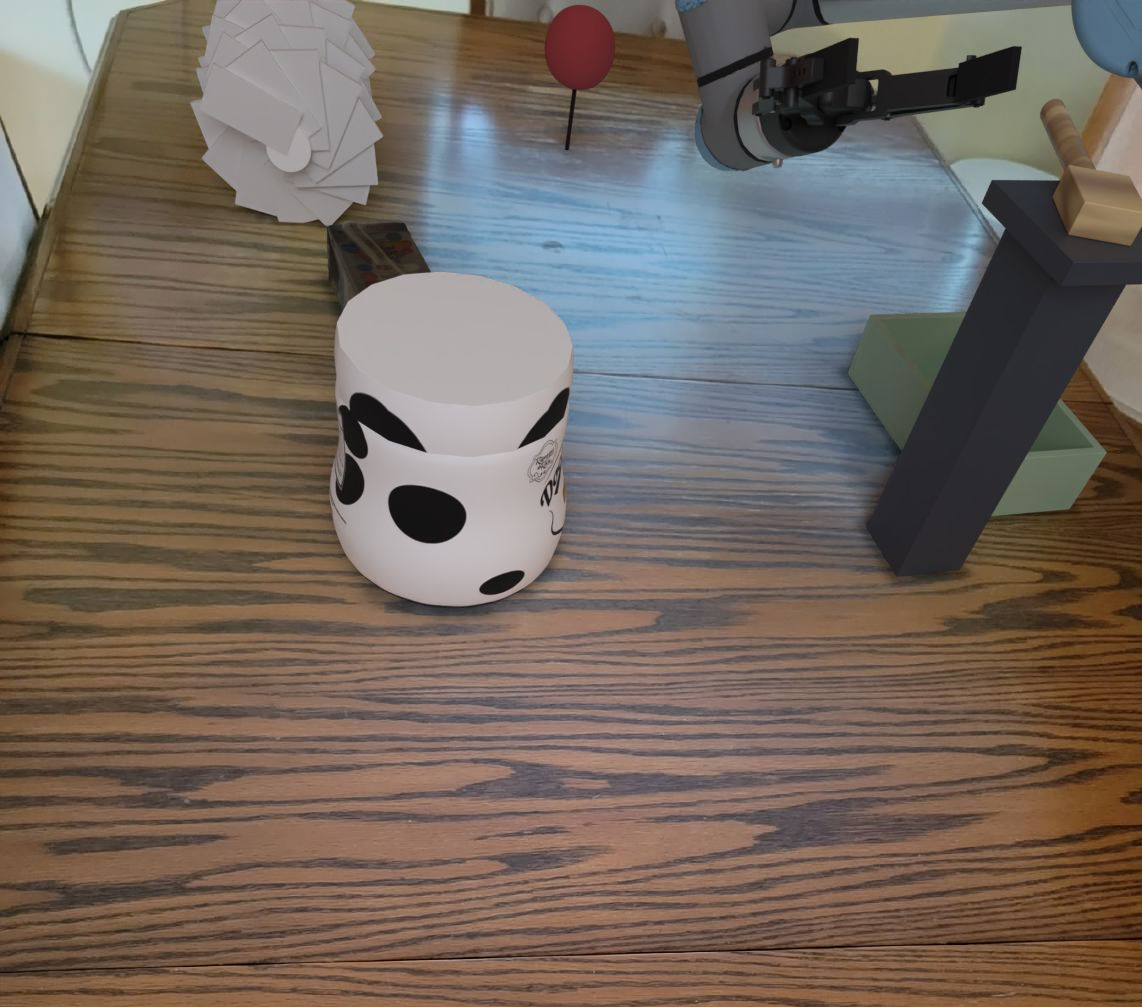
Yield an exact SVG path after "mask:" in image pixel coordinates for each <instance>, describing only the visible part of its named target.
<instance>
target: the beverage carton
mask: <svg viewBox="0 0 1142 1007" xmlns="http://www.w3.org/2000/svg"><path fill="white" fill-rule="evenodd" d="M326 249H327V270H328V282H329V283H330V285H331V289H332V290H333V293H334V294H335V297H336V300H337V301H338V303H339V306H340V309H341V313H342V312H343V310H344V308H345V306H346V304H347V302H348V301H349V300H351V299H352V298H354V297H355V296H356V295H358V294H359V293H361V292H362V291H363V290H365V289H366V288H368V287H369V286H370V285H372V284H376V283H379V282H382V281H385V280H388V279H391V278H395V277H398V276H401V275H406V274H418V273H430V272H432V271H431V269H430V268H429V265H428V263H427V262H426V260H425V258H424V256H423V254H422V253H421V251H420V249H419V248H418V245H417V244H416V242H415V240H414V239H413V238H412V233H411V232H410V230H409V229H408V226H407V225H406V223H405V222H399V221H397V222H396V221H395V222H394V221H392V222H378V223H377V222H375V223H369V222H368V223H367V222H366V223H359V221H355V220H347V221H344V222H343V223H340V224H332V225H329V226H326Z"/></svg>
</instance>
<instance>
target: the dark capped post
mask: <svg viewBox="0 0 1142 1007" xmlns="http://www.w3.org/2000/svg"><path fill="white" fill-rule="evenodd" d="M1060 181H1061V179H1060V180H1056V179H1055V180H1054V179H1053V180H1052V179H1051V180H1050V179H1049V180H1048V179H1042V180H1041V179H991V180H990V183H989V185H988V187H987V190H986V192H985V195H984V197H983V199H982V202H981V205H982V206H983V207H984V208H985V209H986V210H987V211H988V212H989V213H990V214H991V215H992V216H993V217H994V218H995V219H996V220H997V221H998V222H999V223H1000V224H1001V225H1002V227H1004V231H1003V232H1002V234H1001V237H1000V238H999V241H998V243H997V245H996V248H995V250H994V252H993V254H992V256H991V259H990V261H989V263H988V264H987V267H986V268H985V271H984V274H983V276H982V278H981V280H980V282H979V284H978V287H977V288H976V291H975V293H974V295H973V297H972V299H971V302H970V303H969V306H968V308H967V309H966V311H965V312H966V314H965V316H964V319H963V321H962V323H961V325H960V327H959V329H958V331H957V334H956V336H955V338H954V340H953V342H952V344H951V347H950V349H949V351H948V353H947V355H946V357H945V359H944V362H943V364H942V366H941V368H940V370H939V372H938V375H937V377H936V379H935V381H934V383H933V385H932V387H931V390H930V392H929V394H928V396H927V398H926V400H925V402H924V405H923V407H922V409H921V411H920V413H919V415H918V418H917V420H916V422H915V424H914V426H913V428H912V430H911V433H910V435H909V437H908V439H907V441H906V443H905V446H904V448H903V450H902V451H901V452H900V454H899V455H898V456H899V457H898V458H897V461H896V463H895V465H894V467H893V469H892V471H891V474H890V476H889V478H888V480H887V482H886V484H885V486H884V489H883V491H882V493H881V495H880V498H879V500H878V502H877V504H876V506H875V508H874V510H873V512H872V515H871V517H870V519H869V521H868V523H867V525H866V528H865V529H866V530H867V532H868V533H869V535H870V536H871V538H872V540H873V541H874V543H875V545H876V547H877V548H878V550H879V551H880V553H881V554H882V556H883V558H884V560H885V561H886V562H887V565H888V566H889V567H890V570H891V571H892V572H893V575H894V576H895V577H897V578H900V577H910V576H920V575H929V574H939V573H940V574H941V573H949V572H958V571H961V569H962V567H963V565H964V564H965V563H966V560H967V559H968V557H969V555H970V553H971V552H972V550H973V548H974V546H975V545H976V543H977V541H978V540H979V538H980V536H981V534H982V532H983V531H984V530H985V527H986V526H987V524H988V522H989V521H990V519H991V517H993V516H992V514H993V512H994V510H995V509H996V507H997V505H998V504H999V502H1000V500H1001V499H1002V497H1003V495H1004V493H1005V492H1006V490H1007V488H1008V487H1009V485H1010V483H1011V481H1012V480H1013V478H1014V476H1015V475H1016V473H1017V471H1018V469H1019V468H1020V466H1021V464H1022V463H1023V461H1024V459H1025V457H1026V456H1027V454H1028V452H1029V451H1030V449H1031V447H1032V445H1033V444H1034V442H1035V440H1036V439H1037V437H1038V435H1039V433H1040V432H1041V430H1042V428H1043V427H1044V425H1045V423H1046V421H1047V420H1048V418H1049V416H1050V415H1051V413H1052V411H1053V409H1054V408H1055V406H1056V404H1057V403H1058V401H1059V399H1061V398H1062V396H1063V394H1064V392H1065V391H1066V389H1067V388H1068V386H1069V384H1070V382H1071V380H1072V379H1073V378H1074V375H1075V373H1076V372H1077V370H1078V368H1079V367H1080V365H1081V363H1082V362H1083V360H1084V358H1085V356H1086V355H1087V354H1088V352H1089V349H1090V348H1091V346H1092V345H1093V343H1094V341H1095V340H1096V338H1097V336H1098V334H1099V332H1100V331H1101V329H1102V327H1103V325H1104V324H1105V323H1106V320H1107V319H1108V317H1109V316H1110V314H1111V312H1112V310H1113V308H1114V307H1115V305H1116V303H1117V301H1118V300H1119V298H1120V296H1121V295H1122V294H1123V291H1125V288H1126V286H1132V285H1133V286H1135V285H1136V286H1137V285H1138V286H1139V285H1142V227H1141V229H1140V231H1139V232H1138V234H1137V236H1136V238H1135V239H1134V241H1133V243H1132V245H1131V246H1127V245H1122V244H1116V243H1110V242H1105V241H1099V240H1094V239H1088V238H1083V237H1077V236H1071V235H1068V233H1067V231H1066V229H1065V226H1064V224H1063V221H1062V219H1061V217H1060V214H1059V212H1058V209H1057V207H1056V204H1055V202H1054V200H1053V195H1054V193H1055V191H1056V189H1057V187H1058V185H1059V183H1060Z"/></svg>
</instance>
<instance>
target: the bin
mask: <svg viewBox="0 0 1142 1007" xmlns="http://www.w3.org/2000/svg"><path fill="white" fill-rule="evenodd" d="M966 312H967V311H950V312H949V311H948V312H947V311H945V312H915V313H914V312H913V313H879V314H877V313H876V314H869V317H868V319H867V322H866V324H865V327H864V330H863V333H862V334H861V338H860V339H859V343H858V346H857V348H856V351H855V352H854V356H853V357H852V361H851V363H850V366H849V369H848V372H847V375H848V376H849V377H850V379H851V380H852V381H853V383H854V384H855V386H856V387H857V389H858V390H859V391H860V394H861V395H862V396H863V397H864V399H865V401H866V402H867V403H868V405H869V406H870V408H871V410H872V411H873V412H874V413H875V415H876V417H877V418H878V419H879V421H880V423H881V424H882V425H883V427H884V428H885V430H886V431H887V432H888V434H889V436H890V437H891V439H892V440H893V441H894V442H895V444H896V446H897V447H898V448H899V450H900V451H901V452H902V450H903V448H904V446H905V443H906V441H907V439H908V437H909V435H910V433H911V430H912V428H913V426H914V424H915V422H916V420H917V418H918V415H919V413H920V411H921V409H922V407H923V405H924V402H925V400H926V398H927V396H928V394H929V392H930V390H931V387H932V385H933V383H934V381H935V379H936V377H937V375H938V372H939V370H940V368H941V366H942V364H943V362H944V359H945V357H946V355H947V353H948V351H949V349H950V347H951V344H952V342H953V340H954V338H955V336H956V334H957V331H958V329H959V327H960V325H961V323H962V321H963V319H964V316H965V314H966ZM1106 455H1107V451H1106V450H1105V449H1104V447H1103V446H1102V445H1101V444H1100V442H1098V440H1097V439H1096V438H1095V437H1094V436H1093V434H1092V433H1091V432H1090V431H1089V430H1088V428H1086V426H1085V425H1084V424H1083V423H1082V421H1080V419H1079V418H1078V417H1077V416H1076V414H1074V413H1073V411H1072V410H1071V409H1070V408H1069V407H1068V405H1067V404H1066V403H1065V402H1064V401H1063V400H1062V399H1061V398H1060V399H1059V401H1058V403H1057V404H1056V406H1055V408H1054V409H1053V411H1052V413H1051V415H1050V416H1049V418H1048V420H1047V421H1046V423H1045V425H1044V427H1043V428H1042V430H1041V432H1040V433H1039V435H1038V437H1037V439H1036V440H1035V442H1034V444H1033V445H1032V447H1031V449H1030V451H1029V452H1028V454H1027V456H1026V457H1025V459H1024V461H1023V463H1022V464H1021V466H1020V468H1019V469H1018V471H1017V473H1016V475H1015V476H1014V478H1013V480H1012V481H1011V483H1010V485H1009V487H1008V488H1007V490H1006V492H1005V493H1004V495H1003V497H1002V499H1001V500H1000V502H999V504H998V505H997V507H996V509H995V510H994V512H993V514H992V516H991V517H997V516H1009V515H1019V514H1020V515H1021V514H1029V513H1030V514H1031V513H1041V512H1052V511H1062V510H1063V511H1065V510H1070V509H1071V508H1072V507H1073V505H1074V503H1075V502H1076V500H1078V497H1079V495H1080V494H1081V493H1082V491H1083V489H1084V488H1085V486H1086V485H1087V484H1088V482H1089V481H1090V479H1091V478H1092V476H1093V474H1094V473H1095V472H1096V470H1097V468H1098V467H1099V465H1100V464H1101V462H1102V461H1103V459H1104V458H1105V457H1106Z"/></svg>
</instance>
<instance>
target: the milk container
mask: <svg viewBox="0 0 1142 1007" xmlns="http://www.w3.org/2000/svg"><path fill="white" fill-rule="evenodd" d="M333 357H334V358H333V359H334V368H335V374H336V375H335V376H336V377H335V382H334V383H335V384H334V385H335V386H334V393H335V395H334V396H335V405H336V414H337V415H336V416H337V425H338V444H337V448H336V452H335V456H334V459H333V463H332V467H331V472H330V477H329V489H328V490H329V491H328V492H329V493H328V496H329V507H330V513H331V518H332V522H333V527H334V530H335V533H336V535H337V538H338V541H339V544H340V547H341V549H342V551H343V552H344V555H345V556H346V557H347V559H348V560H349V561H350V563H351V564H352V565H353V566H354V567H355V569H356V571H357V572H359V573H360V575H362V576H363V577H364V578H365V579H366V580H368V581H369V582H370V583H372V584H374V585H375V586H376V587H378V588H379V589H380V590H382V591H384V592H386V593H387V594H390V595H392V596H394V597H397V598H400V599H402V600H405V601H407V602H411V603H415V604H419V605H423V606H429V607H438V608H451V609H452V608H453V609H463V608H473V607H477V606H478V607H479V606H483V605H487V604H493V603H497V602H500V601H502V600H504V599H507V598H509V597H511V596H513V595H515V594H517V593H519V592H521V591H522V590H524V589H525V588H527V587H529V585H531V584H532V583H533V582H534V581H535V580H536V579H537V578H538V577H539V576H540V575H541V574H542V573H543V572H544V570H545V569H547V567H548V565H549V564H550V561H551V560H552V558H553V556H554V554H555V552H556V549H557V546H558V544H559V542H560V539H561V537H562V532H563V529H564V525H565V519H566V513H567V490H566V482H565V481H566V480H565V477H564V470H563V465H562V464H563V463H562V454H563V453H562V452H563V444H564V441H565V440H564V439H565V434H566V429H567V424H568V419H569V418H568V417H569V412H570V399H569V398H570V395H571V390H572V386H573V381H574V362H575V359H574V358H575V352H574V345H573V342H572V338H571V337H570V334H569V330H568V328H567V326H566V323H565V322H564V320H562V319H561V318H560V316H558V315H557V313H556V312H554V310H552V309H551V307H549V305H547V303H545V301H542V300H541V299H539V298H537V297H535V296H533V295H532V294H529V293H528V292H526V291H524V290H522V289H521V288H519V287H517V286H515V285H511V284H508V283H505V282H502V281H499V280H495V279H491V278H488V277H485V276H481V275H476V274H467V273H458V272H447V271H431V272H430V273H418V274H406V275H401V276H398V277H395V278H391V279H388V280H385V281H382V282H379V283H376V284H372V285H370V286H369V287H368V288H366V289H365V290H363V291H362V292H361V293H359V294H358V295H356V296H355V297H354V298H352V299H351V300H349V301H348V302H347V304H346V306H345V308H344V310H343V312H342V311H341V314H340V315H339V318H338V320H337V322H336V326H335V331H334V348H333Z"/></svg>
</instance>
